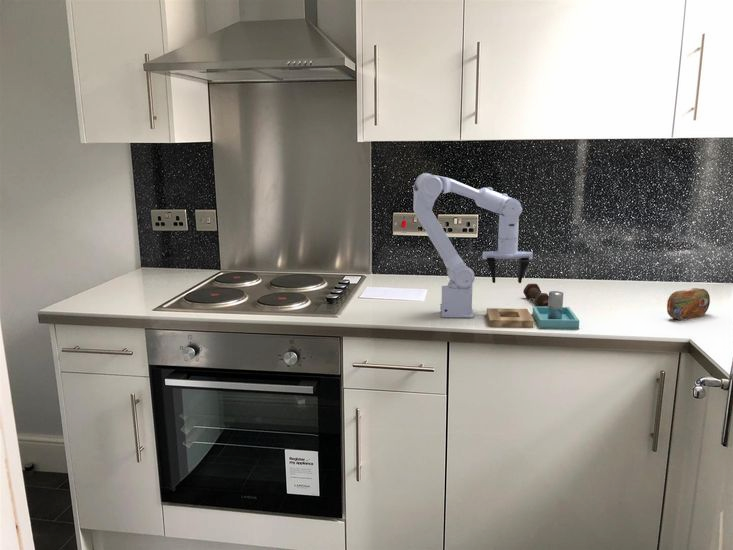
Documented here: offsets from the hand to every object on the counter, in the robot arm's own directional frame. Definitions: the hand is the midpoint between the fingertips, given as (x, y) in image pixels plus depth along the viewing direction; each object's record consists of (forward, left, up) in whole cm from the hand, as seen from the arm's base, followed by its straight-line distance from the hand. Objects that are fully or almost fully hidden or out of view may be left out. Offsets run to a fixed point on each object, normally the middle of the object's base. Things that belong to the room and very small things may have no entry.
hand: (506, 282), depth 188 cm
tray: (+13, -9, -9) cm, 18 cm away
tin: (+52, -3, -10) cm, 53 cm away
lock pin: (+13, -9, -9) cm, 18 cm away
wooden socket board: (0, -9, -9) cm, 13 cm away
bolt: (+11, +10, -10) cm, 18 cm away
